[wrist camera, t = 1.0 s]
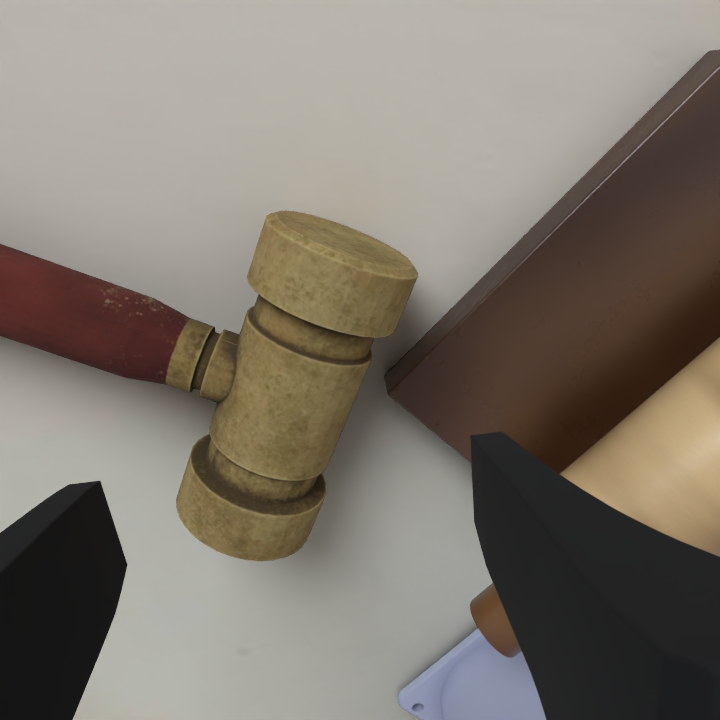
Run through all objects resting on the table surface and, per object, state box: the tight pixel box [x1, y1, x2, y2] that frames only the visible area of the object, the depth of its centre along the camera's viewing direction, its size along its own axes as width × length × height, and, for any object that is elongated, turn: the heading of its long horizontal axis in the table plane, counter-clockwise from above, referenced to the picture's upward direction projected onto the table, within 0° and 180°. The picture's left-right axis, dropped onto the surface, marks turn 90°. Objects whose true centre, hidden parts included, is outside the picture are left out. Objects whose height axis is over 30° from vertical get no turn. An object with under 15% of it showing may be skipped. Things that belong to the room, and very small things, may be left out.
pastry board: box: [384, 50, 720, 474], centre depth 21 cm, size 12×14×2 cm
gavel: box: [0, 211, 418, 561], centre depth 18 cm, size 21×5×10 cm
